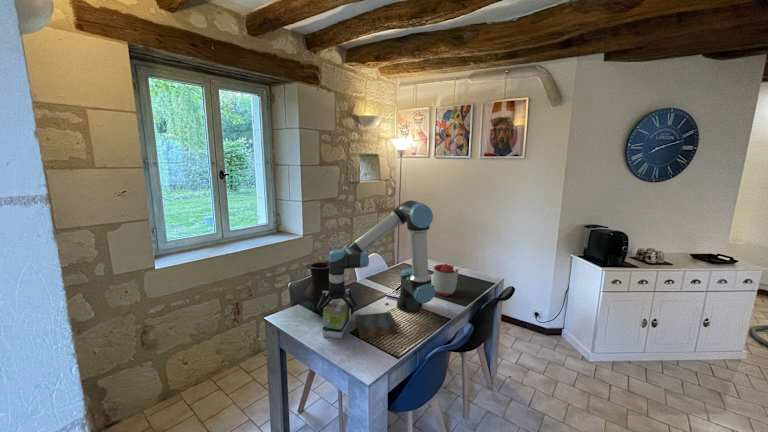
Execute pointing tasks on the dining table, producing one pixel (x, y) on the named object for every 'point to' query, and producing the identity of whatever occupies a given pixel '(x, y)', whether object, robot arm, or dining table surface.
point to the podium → (376, 325)
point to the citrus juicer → (445, 279)
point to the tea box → (335, 318)
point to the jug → (318, 282)
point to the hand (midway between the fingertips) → (336, 320)
